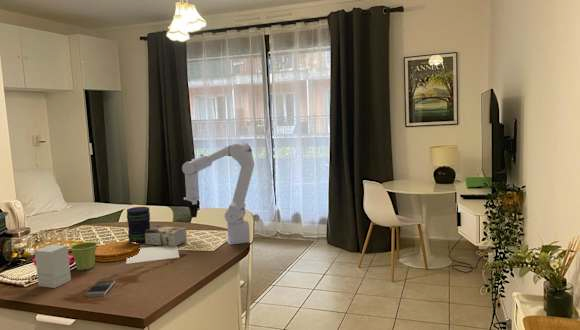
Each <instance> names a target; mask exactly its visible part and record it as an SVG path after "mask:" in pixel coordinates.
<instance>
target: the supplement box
mask: <svg viewBox="0 0 580 330" xmlns="http://www.w3.org/2000/svg"><path fill="white" fill-rule="evenodd" d="M69 257H70V256H69V248H68V245H59V244H50V245H47V246H44V247H42V248H38V249H36V250H35V251H34V258H35V265H36V266H35V267H36V268H35V269H36V275H37V285H38V287H42V288H52V289H55V288H57V287H60V286H62V285H64V284H66V283H68V282H71V281H72V277H71V268H70V259H69Z"/></svg>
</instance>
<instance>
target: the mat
mask: <svg viewBox="0 0 580 330" xmlns="http://www.w3.org/2000/svg"><path fill="white" fill-rule="evenodd" d="M139 249H140V251H139V253H138V254H137V255H135V256H133V257H130V258H127V257H126V262H125V264H126V265H132V264H140V263H141V264H142V263H147V262H148V263H149V262H156V261H157V260H158V261H163V260H164V261H165V260H173V259H180V254H179V253H180V252H179V249H178V245H177V246H175V247H173V246H163V245H158V246H152V247H151V246H150V247H142V248H141V247H140V248H139Z"/></svg>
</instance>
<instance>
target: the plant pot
mask: <svg viewBox="0 0 580 330" xmlns="http://www.w3.org/2000/svg"><path fill="white" fill-rule="evenodd" d="M97 246H98V243H97V242H96V241H95V242H94V241H87V242H86V241H85V242H80V243H76V244H72V245H71V246H69V249H70V251H71V253H72V255H73V259H74V262H75V263H74V264H75V267H76V270H77V271H84V270H91V269H92V268H94V267H95V262H96V250H97Z"/></svg>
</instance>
